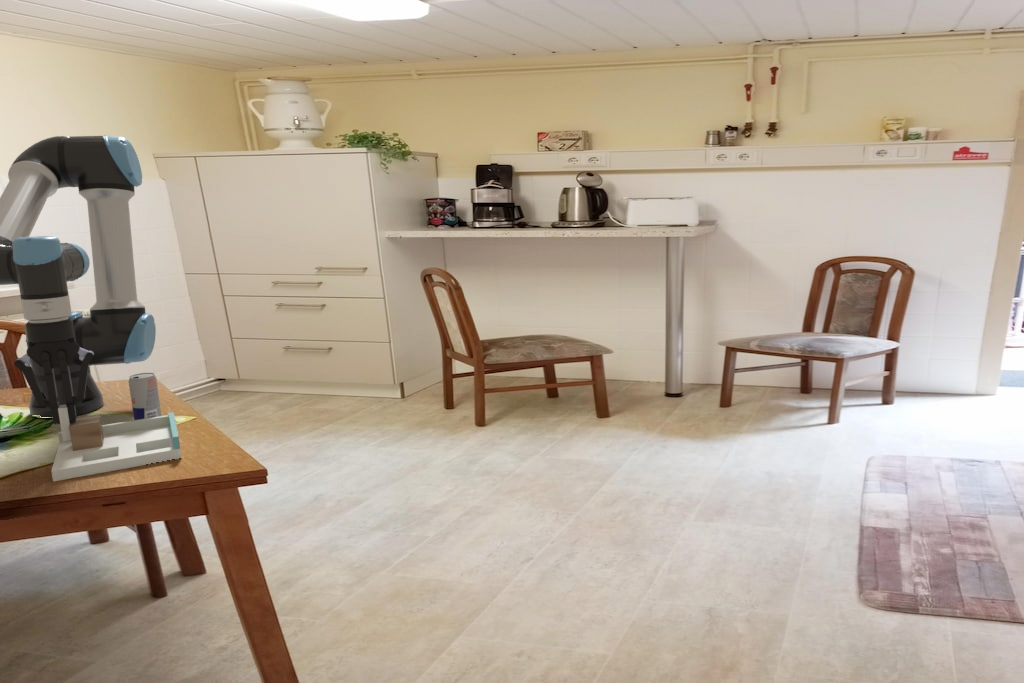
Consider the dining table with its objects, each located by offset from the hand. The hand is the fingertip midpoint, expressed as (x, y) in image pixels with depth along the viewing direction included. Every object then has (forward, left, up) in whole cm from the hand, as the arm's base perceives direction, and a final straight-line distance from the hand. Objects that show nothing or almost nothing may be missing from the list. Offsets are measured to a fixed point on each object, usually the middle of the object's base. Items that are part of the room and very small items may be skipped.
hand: (68, 438), depth 135 cm
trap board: (+3, +8, -4) cm, 10 cm away
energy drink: (-12, +14, -4) cm, 19 cm away
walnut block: (0, +3, -2) cm, 4 cm away
